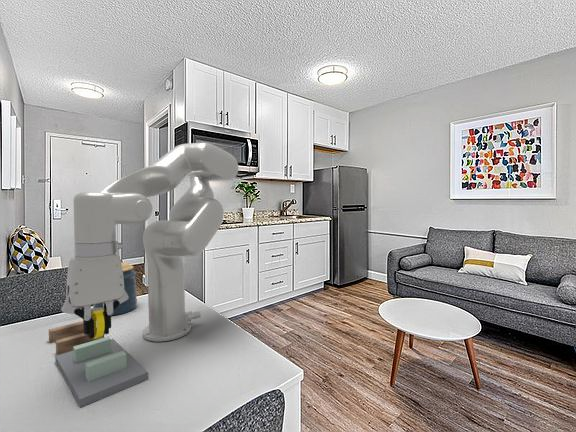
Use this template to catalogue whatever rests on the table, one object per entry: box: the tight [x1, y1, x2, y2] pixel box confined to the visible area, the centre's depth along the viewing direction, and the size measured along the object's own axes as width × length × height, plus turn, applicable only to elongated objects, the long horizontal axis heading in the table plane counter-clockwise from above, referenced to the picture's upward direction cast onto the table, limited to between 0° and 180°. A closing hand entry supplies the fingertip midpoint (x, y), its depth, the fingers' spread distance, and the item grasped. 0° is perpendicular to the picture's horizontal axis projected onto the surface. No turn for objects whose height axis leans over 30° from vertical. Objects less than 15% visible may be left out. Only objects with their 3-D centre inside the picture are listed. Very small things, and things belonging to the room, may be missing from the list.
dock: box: [54, 336, 149, 408], centre depth 66 cm, size 12×22×4 cm, turn 47°
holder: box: [48, 320, 105, 356], centre depth 80 cm, size 10×11×3 cm
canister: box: [92, 262, 138, 316], centre depth 103 cm, size 13×13×18 cm
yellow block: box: [91, 307, 105, 339], centre depth 66 cm, size 6×3×6 cm, turn 48°
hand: (97, 333), depth 66 cm, fingers closed on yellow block, 2 cm apart
